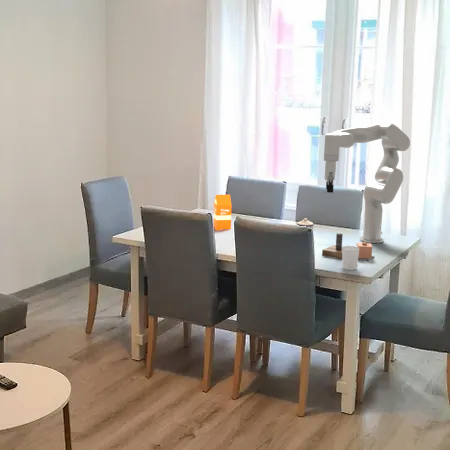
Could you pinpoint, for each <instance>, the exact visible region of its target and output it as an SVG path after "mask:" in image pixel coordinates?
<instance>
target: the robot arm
mask: <svg viewBox="0 0 450 450" xmlns="http://www.w3.org/2000/svg"><path fill="white" fill-rule="evenodd" d="M377 140H381V145H382V149H383V157H382V160H381V162H380V164H379V165H378V168H377V169H376V171H375V175H374V180H375V181H376V182H377V183H373V182H372V183H369V184H367V185H366V186H365V187H364V190H363V197H364V215H363V217H364V218H363V228H362V229H363V232H362V236H361V237H359V241H361V242H366V243H371V244H380V243H383V242H384V238H383V237H382V235H383V232H382V221H383V205H382V204H384V205H388V204H391V203H392V202H393V201H394V199H395V197H396V195H397V194H398V192H399V189H400V188H401V186H402V184H403V182H404V181H403V180H404V173H403V171H402V170H401V169H400V168H397V167H398V164H399V161H400V157H399V153H398V152H405V151H407V150H408V149H409V148H410V146H411V140H410V138H409V136H408V135H407V134H406V133H405V132H404V131H403V130H401V128H399V127H398V126H397V125H395V124H393V123H389V122H377V123H373V124H369V125H365V126H360V127H359V126H358V127H353V128H345V129H340V130H336V131H333V132H331V133H330V132H329V133H326V134H325V136H324V145H323V146H324V150H323V161H324V162H325V167H324V176H323V177H324V180H325V181H326V184H325V190H326V193H329V194H330V193H331V194H333V193H334V181H335V179H336V171H337V170H336V168H337V162H339V160H340V158H339V157H340V148H345V149H348V148H351V147H353V146H354V145H355V143H357V144H366V143H369V142H374V141H377ZM379 183H380V184H379Z"/></svg>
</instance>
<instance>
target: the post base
mask: <svg viewBox="0 0 450 450" xmlns="http://www.w3.org/2000/svg"><path fill="white" fill-rule="evenodd" d="M342 247H343V233H336V237H335V244H334V245H331V246H328V247H326V248H323V249H322V252H321V256H322V257H328V258H332V259H333V258H334V259H338V260H342Z"/></svg>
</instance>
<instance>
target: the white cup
mask: <svg viewBox="0 0 450 450" xmlns="http://www.w3.org/2000/svg"><path fill="white" fill-rule="evenodd" d="M358 256H359V248H358V247H357V246H355V245H344V246H343V245H342V259H341V262H342V263H341V264H342V269H343V270H347V271H355V270H357V268H358V263H359V259H358Z"/></svg>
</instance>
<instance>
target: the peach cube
mask: <svg viewBox="0 0 450 450" xmlns="http://www.w3.org/2000/svg"><path fill="white" fill-rule="evenodd" d="M356 247H358V248H359V256H358V258H368V259H370V260H372V259H373V258H372V256H373V254H372V253H373V245H372V243H367V242H363V241H361V242H356ZM371 258H372V259H371Z"/></svg>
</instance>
